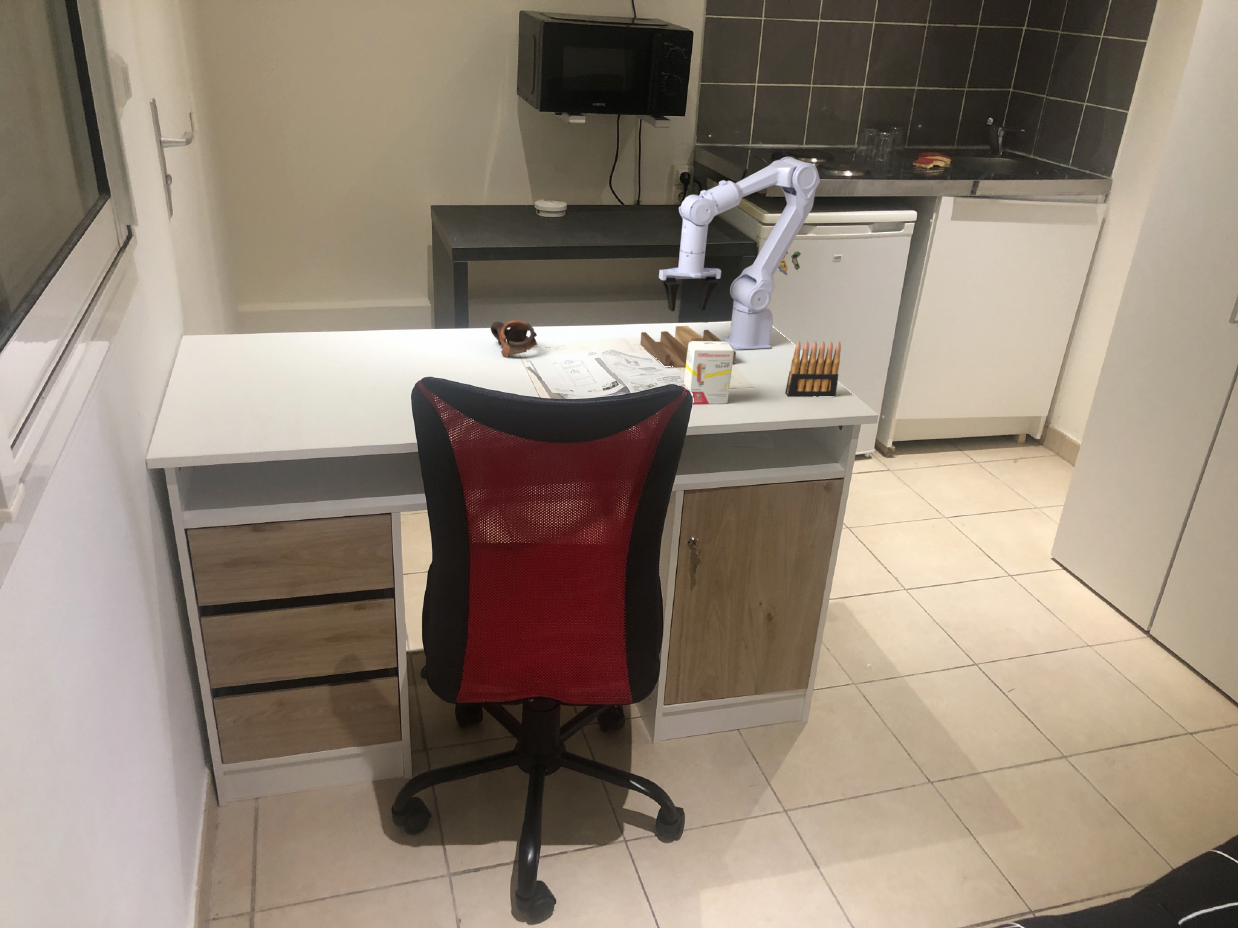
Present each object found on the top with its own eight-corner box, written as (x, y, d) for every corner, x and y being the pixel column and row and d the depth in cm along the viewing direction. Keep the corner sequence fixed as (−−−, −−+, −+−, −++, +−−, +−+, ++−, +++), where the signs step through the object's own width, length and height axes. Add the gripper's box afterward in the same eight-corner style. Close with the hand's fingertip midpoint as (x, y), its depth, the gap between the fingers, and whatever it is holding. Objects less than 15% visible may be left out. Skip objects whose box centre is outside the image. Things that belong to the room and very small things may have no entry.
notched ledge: (706, 341, 229) (707, 329, 228) (734, 364, 215) (735, 351, 214) (640, 344, 224) (641, 332, 222) (664, 368, 210) (665, 355, 209)
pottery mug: (544, 350, 217) (545, 326, 210) (522, 378, 212) (522, 354, 205) (500, 328, 219) (499, 304, 212) (477, 355, 214) (476, 330, 207)
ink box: (687, 404, 191) (693, 349, 186) (681, 395, 196) (687, 341, 191) (728, 404, 193) (735, 349, 188) (721, 395, 198) (728, 341, 192)
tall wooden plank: (685, 346, 223) (687, 325, 221) (701, 359, 216) (703, 338, 213) (673, 346, 222) (675, 326, 220) (688, 359, 215) (691, 338, 212)
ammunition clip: (832, 393, 203) (842, 340, 198) (835, 396, 201) (845, 343, 196) (784, 393, 201) (793, 339, 196) (787, 396, 200) (796, 342, 194)
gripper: (669, 255, 208) (664, 315, 214) (729, 254, 213) (722, 313, 218) (657, 248, 214) (652, 306, 220) (716, 247, 218) (709, 304, 224)
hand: (686, 309), depth 219 cm, fingers open, 7 cm apart
